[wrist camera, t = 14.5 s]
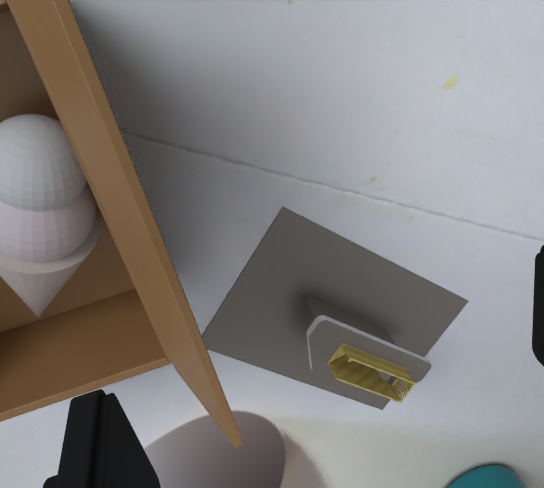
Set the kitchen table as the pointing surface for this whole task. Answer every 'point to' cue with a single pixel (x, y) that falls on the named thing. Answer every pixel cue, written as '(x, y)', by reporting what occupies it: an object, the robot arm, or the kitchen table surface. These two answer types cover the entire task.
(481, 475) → the cup
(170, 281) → the flap
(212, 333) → the platform
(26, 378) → the carton
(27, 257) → the ice cream cone
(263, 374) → the kitchen table surface
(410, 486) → the kitchen table surface
